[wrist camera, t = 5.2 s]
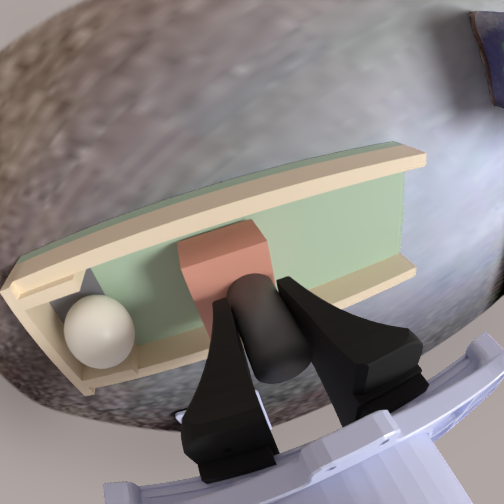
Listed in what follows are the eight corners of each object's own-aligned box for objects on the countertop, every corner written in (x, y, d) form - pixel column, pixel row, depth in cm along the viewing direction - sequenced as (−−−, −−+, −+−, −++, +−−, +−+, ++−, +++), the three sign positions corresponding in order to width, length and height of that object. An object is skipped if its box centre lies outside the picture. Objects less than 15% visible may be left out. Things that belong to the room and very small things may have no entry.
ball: (119, 322, 18) (160, 343, 16) (77, 363, 15) (113, 395, 13) (90, 272, 16) (129, 289, 14) (40, 316, 13) (70, 345, 11)
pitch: (391, 254, 22) (419, 279, 19) (88, 357, 19) (85, 396, 16) (394, 141, 17) (432, 155, 14) (20, 256, 14) (-1, 291, 11)
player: (267, 293, 19) (317, 385, 13) (205, 315, 18) (233, 415, 12) (251, 218, 16) (312, 305, 10) (176, 242, 15) (195, 346, 9)
